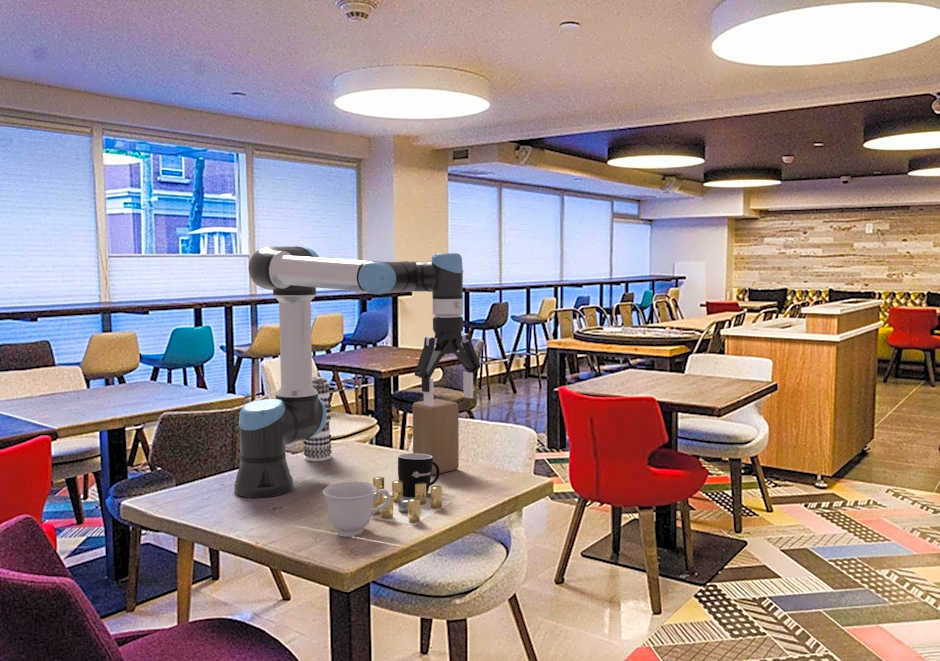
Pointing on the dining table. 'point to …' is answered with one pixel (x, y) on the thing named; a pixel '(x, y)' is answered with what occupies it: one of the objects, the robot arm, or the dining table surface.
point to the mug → (415, 471)
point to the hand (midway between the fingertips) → (449, 401)
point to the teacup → (352, 505)
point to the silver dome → (403, 505)
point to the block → (437, 433)
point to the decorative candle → (320, 443)
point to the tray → (403, 518)
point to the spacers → (412, 503)
